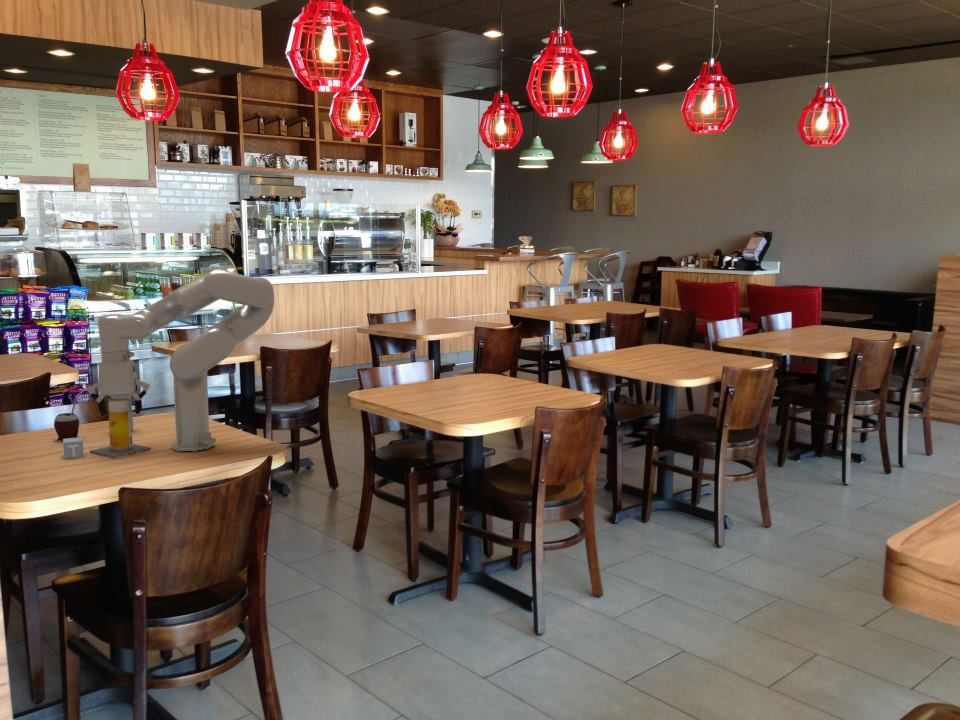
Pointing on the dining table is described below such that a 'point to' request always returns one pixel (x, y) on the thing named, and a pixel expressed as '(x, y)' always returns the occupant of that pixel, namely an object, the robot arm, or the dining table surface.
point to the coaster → (111, 453)
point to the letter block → (73, 447)
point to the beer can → (120, 424)
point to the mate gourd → (67, 424)
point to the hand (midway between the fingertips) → (121, 413)
